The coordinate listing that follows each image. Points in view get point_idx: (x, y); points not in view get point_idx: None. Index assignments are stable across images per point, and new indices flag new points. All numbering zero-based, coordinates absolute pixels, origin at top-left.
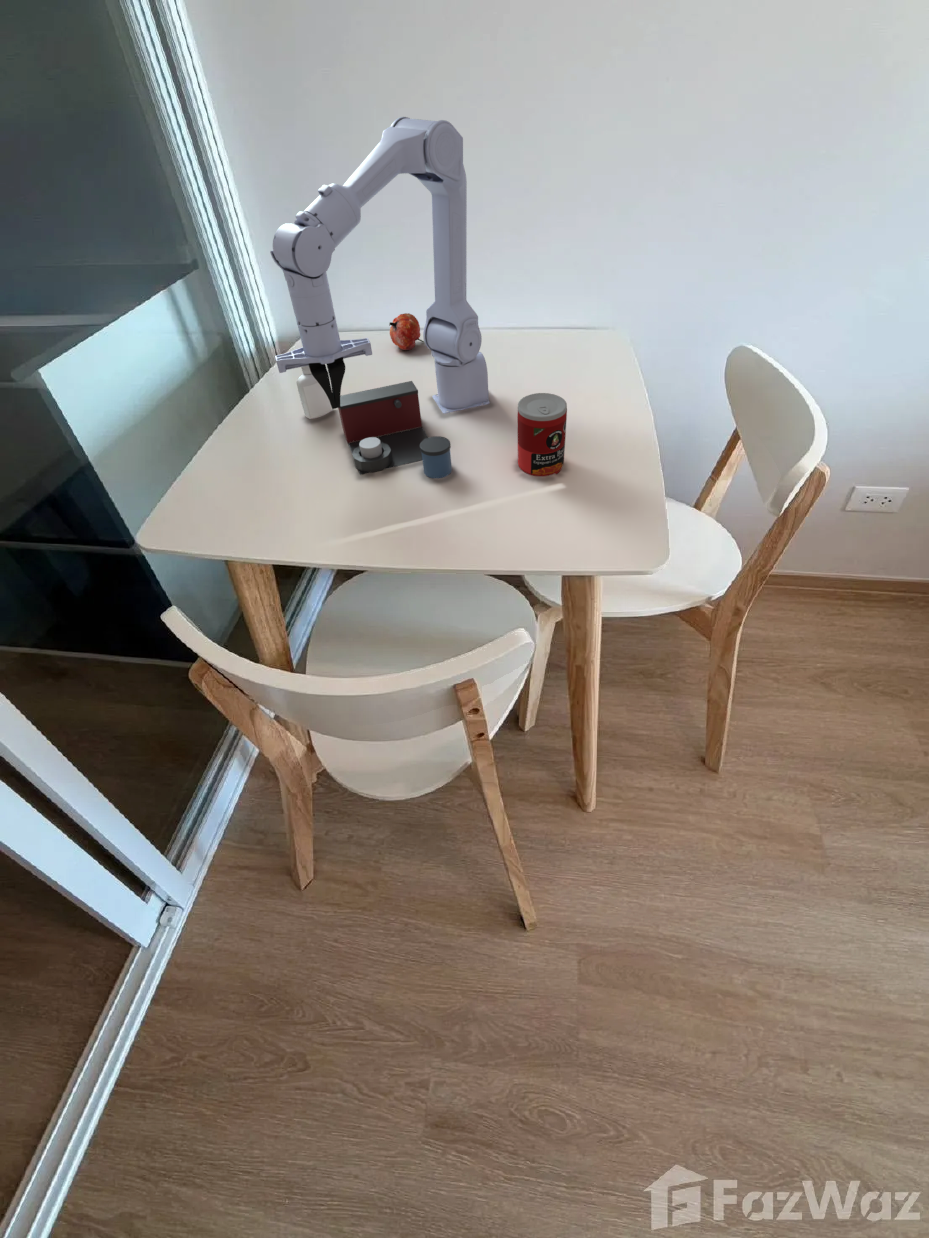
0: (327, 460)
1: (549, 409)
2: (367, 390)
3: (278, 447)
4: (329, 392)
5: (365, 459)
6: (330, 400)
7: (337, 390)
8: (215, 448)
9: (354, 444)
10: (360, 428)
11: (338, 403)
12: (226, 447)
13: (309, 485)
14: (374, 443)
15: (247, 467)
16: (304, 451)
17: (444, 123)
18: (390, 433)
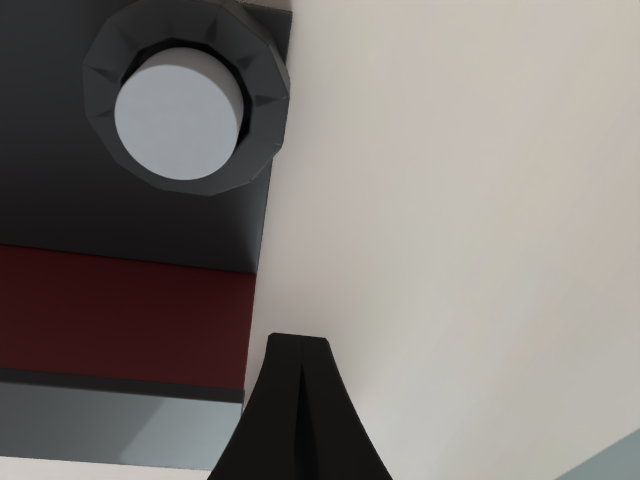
0: (365, 221)
1: None
2: (73, 458)
3: (469, 367)
4: (340, 440)
5: (238, 50)
6: (337, 385)
7: (264, 437)
8: (613, 436)
9: (234, 255)
10: (184, 301)
11: (280, 353)
12: (588, 428)
13: (510, 90)
14: (153, 104)
15: (609, 317)
16: (410, 311)
17: None
18: (71, 254)
